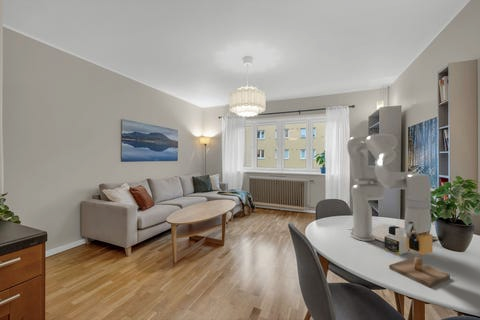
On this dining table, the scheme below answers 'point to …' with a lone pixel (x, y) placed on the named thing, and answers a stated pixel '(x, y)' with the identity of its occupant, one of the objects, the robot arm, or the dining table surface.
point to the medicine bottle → (395, 241)
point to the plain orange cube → (422, 243)
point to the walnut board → (419, 272)
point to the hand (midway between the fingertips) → (418, 247)
